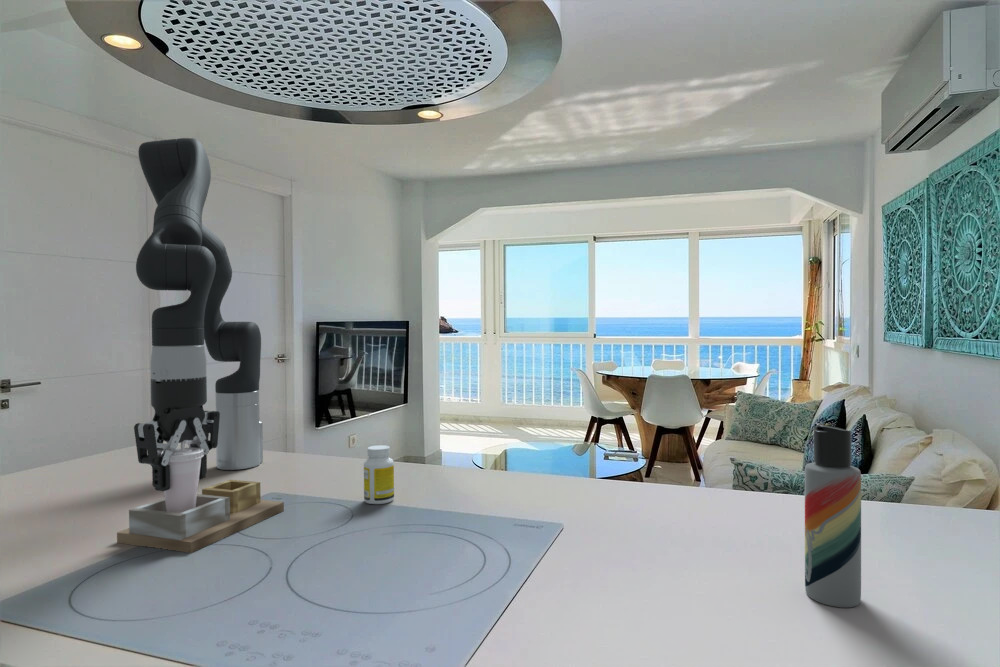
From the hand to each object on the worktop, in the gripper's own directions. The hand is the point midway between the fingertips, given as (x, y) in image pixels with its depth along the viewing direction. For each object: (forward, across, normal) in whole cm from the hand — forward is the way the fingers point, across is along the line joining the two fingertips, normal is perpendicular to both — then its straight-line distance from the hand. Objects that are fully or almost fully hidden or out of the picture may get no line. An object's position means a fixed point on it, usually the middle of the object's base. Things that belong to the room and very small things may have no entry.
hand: (180, 483), depth 91 cm
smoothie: (+5, 0, 0) cm, 5 cm away
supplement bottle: (+8, -25, +20) cm, 33 cm away
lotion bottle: (+8, -6, +90) cm, 91 cm away
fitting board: (+8, -5, 0) cm, 9 cm away
